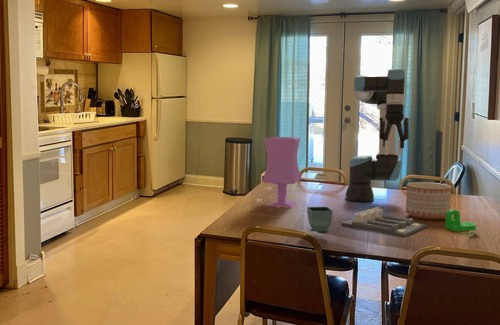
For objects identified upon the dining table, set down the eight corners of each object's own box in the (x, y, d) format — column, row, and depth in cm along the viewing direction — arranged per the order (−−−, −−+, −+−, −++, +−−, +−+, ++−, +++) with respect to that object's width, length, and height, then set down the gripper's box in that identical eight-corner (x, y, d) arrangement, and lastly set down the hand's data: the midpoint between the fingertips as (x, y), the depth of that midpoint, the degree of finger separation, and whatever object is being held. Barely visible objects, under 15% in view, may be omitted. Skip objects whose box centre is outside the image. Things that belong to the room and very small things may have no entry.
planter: (429, 223, 208) (430, 189, 207) (396, 214, 225) (398, 183, 224) (458, 218, 217) (460, 186, 216) (425, 211, 234) (427, 181, 233)
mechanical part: (454, 231, 194) (456, 212, 193) (445, 228, 200) (446, 209, 199) (479, 229, 197) (480, 211, 197) (468, 226, 203) (469, 208, 202)
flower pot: (306, 227, 198) (306, 206, 197) (327, 227, 198) (327, 206, 198) (310, 233, 189) (311, 211, 188) (332, 233, 190) (333, 210, 189)
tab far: (370, 218, 211) (370, 207, 211) (374, 216, 214) (374, 206, 214) (378, 219, 208) (378, 208, 208) (382, 218, 211) (383, 207, 211)
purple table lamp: (271, 202, 253) (272, 136, 249) (300, 204, 248) (301, 137, 244) (262, 207, 238) (263, 138, 235) (293, 210, 233) (294, 139, 230)
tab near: (354, 223, 201) (354, 212, 200) (358, 221, 204) (359, 210, 203) (362, 224, 198) (363, 213, 198) (367, 223, 201) (367, 212, 201)
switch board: (341, 225, 203) (341, 217, 202) (366, 217, 219) (366, 210, 219) (404, 237, 184) (404, 229, 184) (426, 227, 200) (426, 219, 200)
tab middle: (362, 220, 206) (362, 209, 205) (366, 219, 209) (367, 208, 208) (370, 222, 203) (371, 211, 203) (375, 220, 206) (375, 209, 206)
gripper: (372, 103, 218) (370, 154, 220) (411, 103, 205) (409, 156, 208) (379, 104, 223) (378, 153, 226) (418, 103, 211) (416, 155, 213)
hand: (393, 154), depth 217 cm, fingers open, 6 cm apart
